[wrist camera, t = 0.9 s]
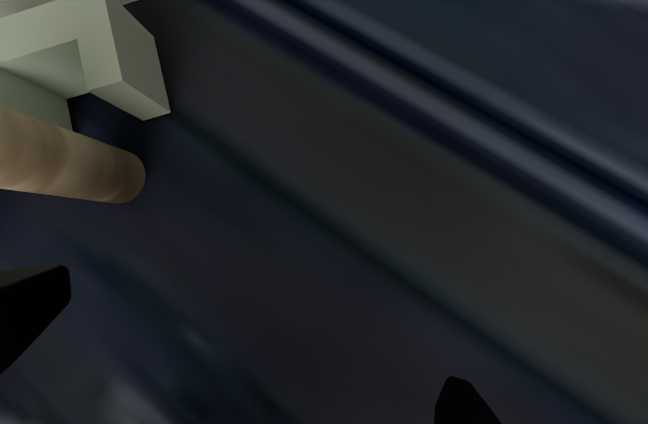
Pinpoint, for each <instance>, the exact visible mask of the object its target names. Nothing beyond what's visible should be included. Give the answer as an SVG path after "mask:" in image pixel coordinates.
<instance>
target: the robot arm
mask: <svg viewBox="0 0 648 424" xmlns="http://www.w3.org/2000/svg"><path fill="white" fill-rule="evenodd" d="M70 299H71V285H70V275H69V270H68V268H67V267H65V266H63V265H59V264H56V263H52V262H46V263H41V264H36V265H31V266H26V267H21V268H16V269H11V270H7V271H2V272H0V375H1V374H2V373H3V372H4V371H5V370H6V369H7V368H8V367H9V366H10V365H11V364H12V363H13V362H14V361H16V360H17V358H18V357H19V356H20V355H21V354H22V353H23V352H24V351H25V350H26V349H27V348H28V347H29V346H30V345H31V344H32V343H33V342H34V340H35V339H36V338H37V337H38V336H39V335H40V334H41V333H42V332H43V331H44V330H45V329H46V328H47V326H48V325H49V324H50V323H51V322H52V321H53V320H54V319H55V318H56V317H57V316H58V315H59V313H60V312H61V311H62V310H63V309H64V308H65V307H66V306H67V305H68V303H69V301H70ZM434 424H502V423H501V422H500V421H499V419H498V418H497V417H496V415H495V414H494V413H493V411H492V410H491V409H490V408H489V406H488V405H487V404H486V402H485V401H484V400H483V398H482V397H481V396H480V395H479V393H478V392H477V391H476V389H475V388H474V387H473V385H472V384H471V383H470V382H469V381H467V380H464V379H461V378H457V377H454V376H450V377H448V378H447V379H446V381H445V384H444V386H443V388H442V391H441V393H440V395H439V398H438V400H437V402H436V406H435V413H434Z"/></svg>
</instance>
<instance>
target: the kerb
mask: <svg viewBox="0 0 648 424" xmlns="http://www.w3.org/2000/svg"><path fill="white" fill-rule="evenodd" d="M52 1H56V0H0V18H2V17H6V16H9V15H12V14H15V13H18V12H21V11H24V10H27V9H31V8H34V7H37V6H40V5H43V4H46V3H49V2H52ZM117 1H118V2H119V3H120V4H121V5H125V4H128V3H131V2H134V1H137V0H117Z"/></svg>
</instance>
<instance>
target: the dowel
mask: <svg viewBox="0 0 648 424" xmlns="http://www.w3.org/2000/svg"><path fill="white" fill-rule="evenodd" d="M144 183H145V169H144V166H143V164H142V162H141V160H140V159H139V158H138V157H137V156H136V155H134V154H133V153H130V152H128V151H125V150H122V149H120V148H117V147H114V146H112V145H109V144H106V143H103V142H101V141H98V140H95V139H92V138H90V137H87V136H84V135H81V134H79V133H76V132H73V131H71V130H68V129H65V128H62V127H60V126H57V125H54V124H51V123H49V122H46V121H43V120H40V119H38V118H35V117H32V116H30V115H27V114H24V113H21V112H19V111H16V110H13V109H10V108H8V107H5V106H2V105H0V188H1V189H9V190H16V191H24V192H32V193H39V194H47V195H55V196H63V197H70V198H78V199H86V200H94V201H101V202H109V203H117V204H121V203H126V202H129V201H131V200H133V199H134V198H135V197H136V196H137V195H138V194H139V193H140V192H141V190H142V188H143V186H144Z"/></svg>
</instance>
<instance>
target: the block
mask: <svg viewBox="0 0 648 424" xmlns="http://www.w3.org/2000/svg"><path fill="white" fill-rule="evenodd" d="M89 92H90V93H92V94H94V95H96V96H98V97H100V98H102V99H103V100H105V101H107V102H109V103H111V104H113V105H115V106H116V107H118V108H120V109H122V110H124V111H126V112H128V113H130V114H131V115H133V116H135V117H137V118H139V119H141V120H143V121H144V120H147V119H151V118H154V117H158V116H161V115H164V114H168V113H171V111H170V107H169V102H168V98H167V93H166V89H165V85H164V80H163V76H162V71H161V67H160V63H159V58H158V54H157V49H156V45H155V41H154V37H153V36H152V35H151V34H150V33H149V32H148V31H147V30H146V29H145V28H144V27H143V26H142V25H141V24H140V23H139V22H138V21H137V20H136V19H135V18H134V17H133V16H132V15H131V14H130V13H129V12H128V11H127V10H126V9H125V8H124V7H123V6H122V5H121V4H120V3H119V2H118V1H117V0H56V1H52V2H49V3H46V4H43V5H40V6H37V7H34V8H31V9H27V10H24V11H21V12H18V13H15V14H12V15H9V16H6V17H2V18H0V105H2V106H5V107H8V108H10V109H13V110H16V111H19V112H21V113H24V114H27V115H30V116H32V117H35V118H38V119H40V120H43V121H46V122H49V123H51V124H54V125H57V126H60V127H62V128H65V129H68V130H71V131H73V129H72V125H71V120H70V115H69V110H68V105H67V100H66V99H69V98H72V97H76V96H79V95H82V94H86V93H89Z"/></svg>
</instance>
